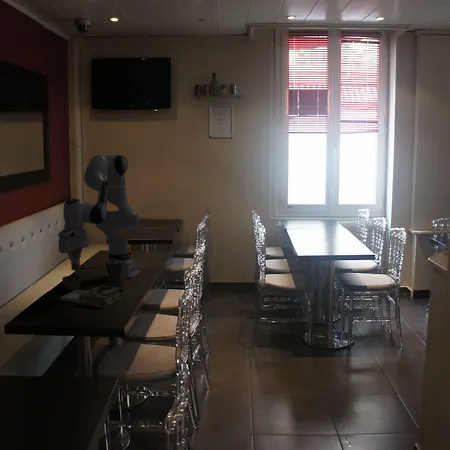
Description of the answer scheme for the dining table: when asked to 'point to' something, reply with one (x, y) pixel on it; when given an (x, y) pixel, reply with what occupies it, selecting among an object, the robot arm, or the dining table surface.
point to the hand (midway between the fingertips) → (75, 258)
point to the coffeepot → (114, 273)
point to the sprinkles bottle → (75, 259)
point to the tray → (72, 296)
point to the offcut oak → (114, 291)
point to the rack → (94, 297)
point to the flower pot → (72, 282)
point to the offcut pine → (107, 293)
